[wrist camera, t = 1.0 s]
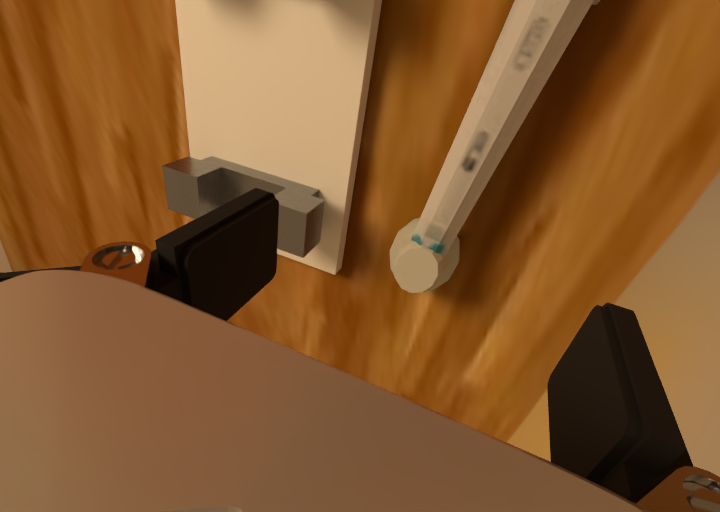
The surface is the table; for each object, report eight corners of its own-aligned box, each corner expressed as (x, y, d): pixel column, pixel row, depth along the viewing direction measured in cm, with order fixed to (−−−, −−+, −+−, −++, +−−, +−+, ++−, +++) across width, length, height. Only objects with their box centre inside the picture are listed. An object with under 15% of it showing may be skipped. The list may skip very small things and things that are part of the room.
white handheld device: (675, -105, 16) (428, 327, 28) (629, -49, 22) (440, 288, 33) (557, -141, 17) (364, 294, 28) (543, -78, 23) (387, 261, 34)
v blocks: (179, -112, 25) (120, -137, 22) (366, -91, 22) (334, -116, 18) (203, 192, 37) (168, 209, 34) (327, 234, 34) (303, 257, 30)
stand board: (174, -190, 25) (155, -202, 23) (409, -177, 21) (401, -190, 20) (206, 218, 41) (196, 224, 40) (341, 267, 37) (335, 274, 36)
